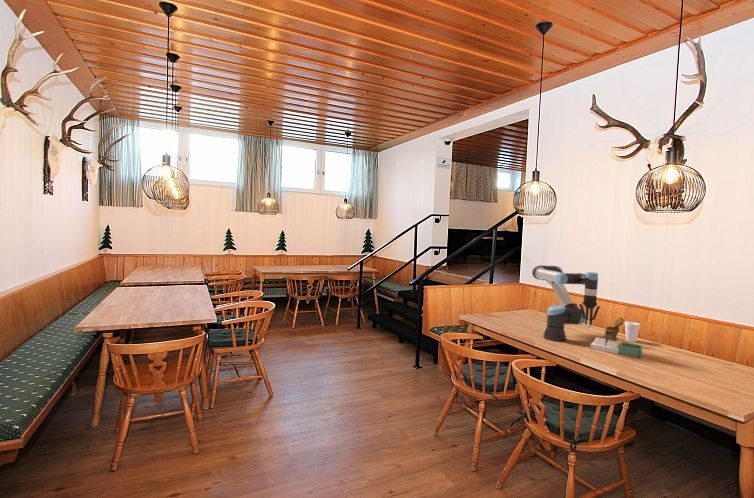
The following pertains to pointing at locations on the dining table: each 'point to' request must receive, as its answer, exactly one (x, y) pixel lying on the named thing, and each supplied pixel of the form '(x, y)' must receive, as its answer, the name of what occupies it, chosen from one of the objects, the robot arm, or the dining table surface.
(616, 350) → the board
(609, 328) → the wooden mug
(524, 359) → the dining table surface
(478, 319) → the dining table surface
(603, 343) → the tile
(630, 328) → the foam cup
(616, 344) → the tile
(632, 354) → the box
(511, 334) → the dining table surface
